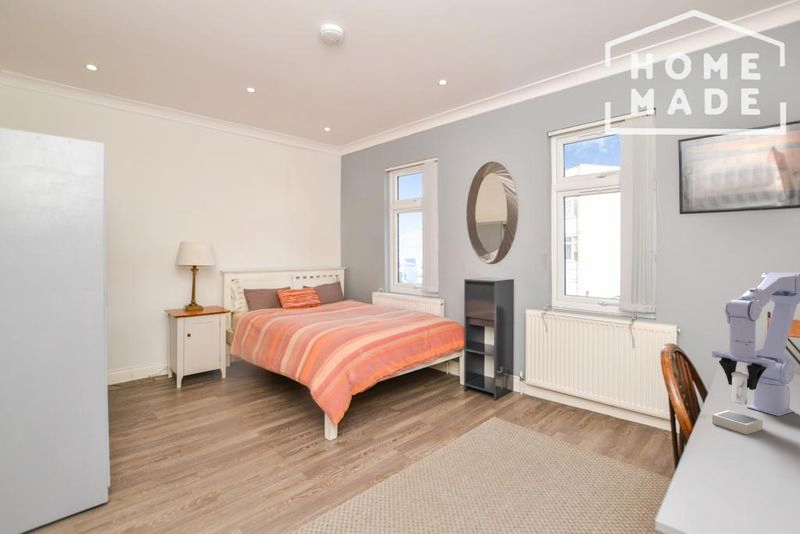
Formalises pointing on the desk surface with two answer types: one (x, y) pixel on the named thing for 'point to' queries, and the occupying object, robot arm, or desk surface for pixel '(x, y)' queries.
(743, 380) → the milkshake
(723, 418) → the plinth
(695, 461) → the desk surface
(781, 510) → the desk surface
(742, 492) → the desk surface
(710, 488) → the desk surface
